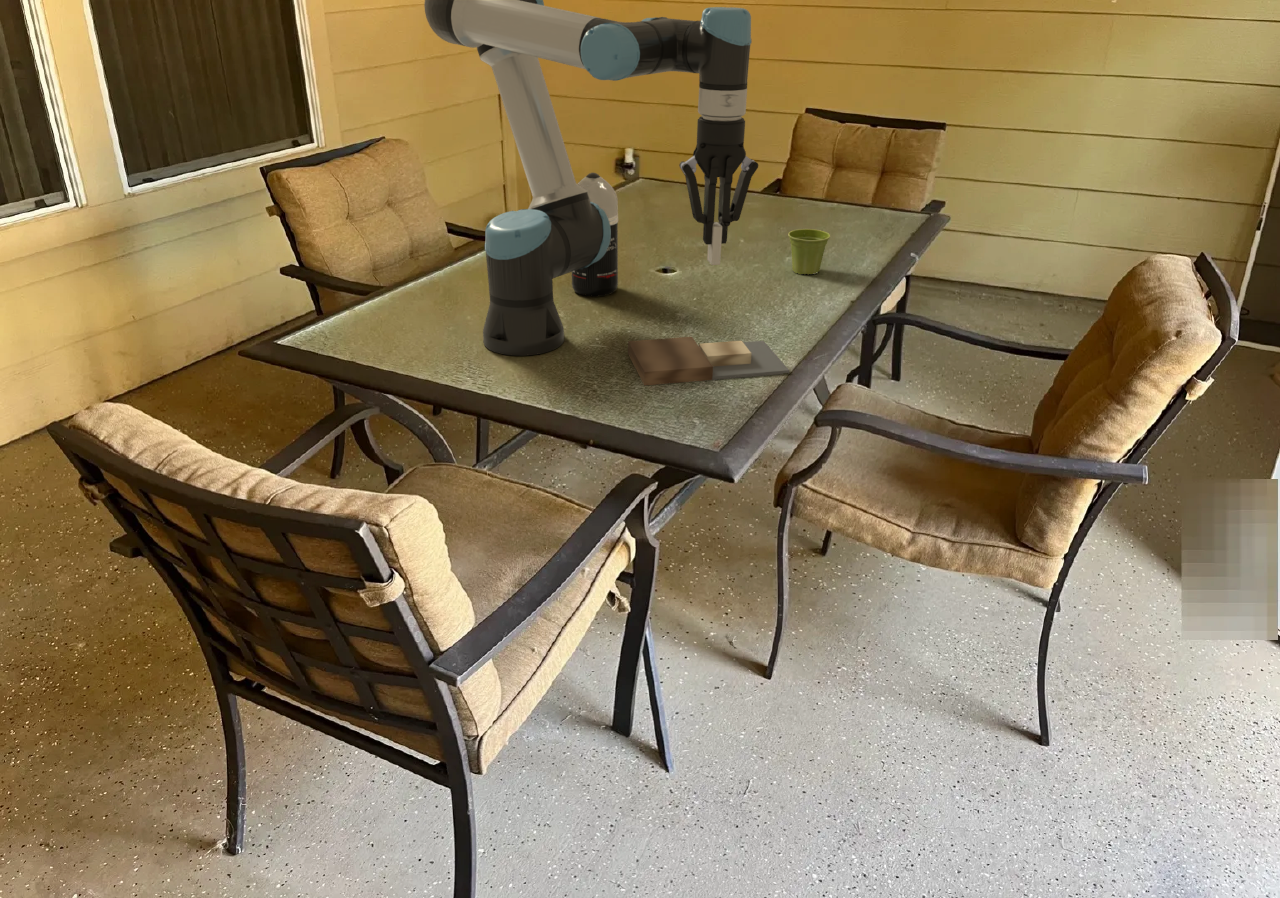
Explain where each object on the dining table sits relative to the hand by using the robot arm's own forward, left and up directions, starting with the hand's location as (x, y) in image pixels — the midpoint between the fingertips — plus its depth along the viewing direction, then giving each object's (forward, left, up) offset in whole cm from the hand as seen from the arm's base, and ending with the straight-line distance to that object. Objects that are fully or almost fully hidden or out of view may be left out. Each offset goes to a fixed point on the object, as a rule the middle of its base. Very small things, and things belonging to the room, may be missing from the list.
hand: (713, 262), depth 155 cm
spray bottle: (-14, +42, -19) cm, 48 cm away
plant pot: (+36, +46, -19) cm, 62 cm away
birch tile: (+3, 0, -18) cm, 18 cm away
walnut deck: (-8, -1, -18) cm, 20 cm away
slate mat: (+5, -1, -18) cm, 19 cm away
